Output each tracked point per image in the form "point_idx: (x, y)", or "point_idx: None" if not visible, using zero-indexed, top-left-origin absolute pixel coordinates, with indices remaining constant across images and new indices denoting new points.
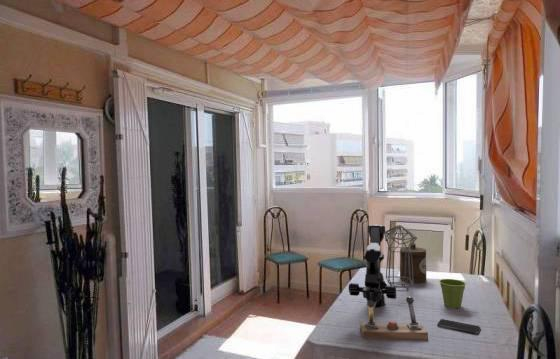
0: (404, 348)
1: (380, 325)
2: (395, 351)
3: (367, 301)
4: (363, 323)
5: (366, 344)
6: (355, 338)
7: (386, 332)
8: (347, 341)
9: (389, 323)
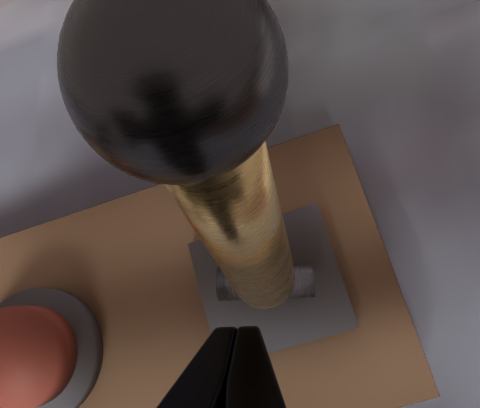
0: (8, 88)
1: (173, 372)
2: None
3: (263, 19)
4: (387, 379)
5: (291, 43)
6: (412, 122)
7: (109, 204)
8: (470, 34)
9: (45, 323)
